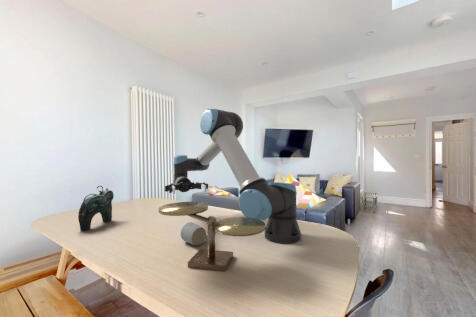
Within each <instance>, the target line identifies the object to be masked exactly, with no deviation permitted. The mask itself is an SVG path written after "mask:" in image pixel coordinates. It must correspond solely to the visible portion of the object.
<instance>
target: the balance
mask: <svg viewBox="0 0 476 317" xmlns="http://www.w3.org/2000/svg"><path fill="white" fill-rule="evenodd" d="M208 209H209V204H207V203H205V202H201V201H200V202H199V201H179V202H171V203H166V204H164V205H161V206H159V207H158V213H159V214H160V215H164V216H169V217H171V216H172V217H179V216H180V217H183V216H184V217H186V216H187V217H191V218H194V219H195V220H198V221H201V222H204V223H206V225H207V235H208V240H207V248H206V249H204V248H200V249H199V250H198V251H197V252H196V253H194V255H193V256H192V257H191V258H190V259H189V260H188V261H187V268H191V269H200V270H208V271H209V270H210V271H218V272H226V271H227V269H228V267H229V265H230V264H231V262H232V260H233V258H234V251H231V250H229V251H227V250H218V249H217V250H216V233H218V234H220V235H225V236H228V237H230V236H231V237H250V236H255V235H260V234H261V233H263V232H265V228H266V225H267V223H266V222H264V220H259V219H255V218H248V217H246V216H244V217H243V216H241V217H240V216H236V217H227V218H224V219H219V220H218V221H217V219H216V216H213V215H210V216H208V217H206V216H203V215H201V213H204V212H207V211H208Z"/></svg>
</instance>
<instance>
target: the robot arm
mask: <svg viewBox="0 0 476 317" xmlns="http://www.w3.org/2000/svg"><path fill="white" fill-rule="evenodd" d="M199 128H200V132H201V133H202V134H203V135H205V136H206V135H207V136H208V135H209V137H210V139H211V142H210V143H209V144H208V145H207V146H206V148H204V149H203V151H202V152H201V153H200V154H199V155H198V156H197V157H196V158H193V157H191V158H189V157H188V155H185V154H184V155H183V154H181V155H180V154H179V155H174V157H173V171H174V172H173V180H172V181H173V183H170V184H167V185H165V186H164V191H165V192H166V193H167V192H169V194H176V191H179V192H181V193H187V192H189V191H190V190H201V191H203V192H207V190H208V189H209V183H206V182H194V181H193V182H192V181H191V180H190V179H189V177H188V174H189V173H188V172H197V171H198V172H200V171H202V172H203V171H207V170H208V169H209V167H210V163H211V162H212V161H213V160H214V159H215V158H216V157H217V156H219V154H220V153H221V152H222V154H223V156H224V158H225V160H226V162H227V164H228V166H229V168H230V170H231V171H232V173H233V176H234V178H235V179H236V182H237V183H238V185H239V186H240V189H239V190H238V193H239V197H238V202H239V203H238V206H239V209H240V211H241V213H242V215H243V216H244V217H248V218H255V219H259V220H261V221H264V220H267V221H266V228H265V230H264V238H265V239H266V240H268V241H270V242H273V243H277V244H293V243H297V242H300V241H301V240H302V232H301V228H300V226H299V224H298V219H297V194H298V193H297V186H296V185H295V184H294V183H291V182H290V183H287V182H279V181H278V182H277V181H269V182H267V179H266V178H264V177H261V176H260V175H259V173H258V172H257V170H256V169H255V167H254V164H252V162H251V160H250V158H249V157H248V155H247V153H246V152H245V150H244V148H243V146H242V144H241V142H240V141H239V140H238V138H239V137H240V136H241V135H242V133H243V130H244V122H243V119H242V118H241V116H240V115H239V114H238V113H236V112H231V111H227V110H222V109H217V108H207V109H206V110H205V111H204V112H203V113H202V114H201V118H200V122H199Z"/></svg>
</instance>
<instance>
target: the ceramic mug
mask: <svg viewBox="0 0 476 317" xmlns="http://www.w3.org/2000/svg"><path fill="white" fill-rule="evenodd" d="M180 237H181V240H183V241H184V242H186V243H187V244H190V245H192V246H200V245H203V243H205V241H208V234H207V232H206V229H205V228H204V227H203V226H202V225H199V224H196V223H195V222H192V221H191V222H190V221H189V222H186V223H185V224H184V225H182V228H181V229H180Z"/></svg>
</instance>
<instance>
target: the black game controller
mask: <svg viewBox="0 0 476 317" xmlns="http://www.w3.org/2000/svg"><path fill="white" fill-rule="evenodd" d="M98 188H101V190H98ZM96 190H98V192H99V193H98V194H97V193H90V194H88V195H86V196H85V197H83V198H84V199H83V201H82V203H81V205H80V207H79V210H78V213H77V214H78V218H77V219H78V223H79V230H80V232H86V231H89V230H91V225H92V220H93V219H94V216H95V215H97V214H100V216H101V220H102V223H109V222H112V221H111V220H113V205H112V202H113V200H114V198H115V196H114V192H113V190H109V189H108V188H107V187H106V189H105V190H104V186H102V185H98V186H96Z"/></svg>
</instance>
